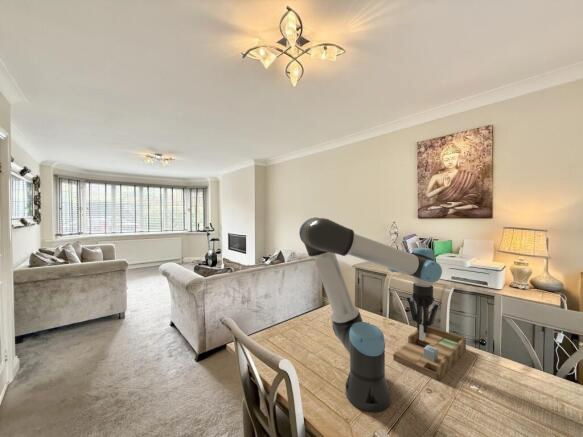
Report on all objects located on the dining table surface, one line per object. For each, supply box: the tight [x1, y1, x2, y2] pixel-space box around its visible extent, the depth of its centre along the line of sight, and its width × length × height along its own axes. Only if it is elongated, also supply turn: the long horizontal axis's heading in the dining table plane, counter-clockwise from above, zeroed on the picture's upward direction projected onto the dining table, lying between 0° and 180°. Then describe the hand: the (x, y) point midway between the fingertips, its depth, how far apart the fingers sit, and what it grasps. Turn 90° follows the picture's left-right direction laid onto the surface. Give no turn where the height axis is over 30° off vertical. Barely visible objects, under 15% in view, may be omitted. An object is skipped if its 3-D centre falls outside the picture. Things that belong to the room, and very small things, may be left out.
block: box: [424, 345, 438, 362], centre depth 102 cm, size 4×4×4 cm
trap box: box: [392, 326, 467, 382], centre depth 109 cm, size 32×18×6 cm, turn 130°
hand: (422, 339), depth 104 cm, fingers closed
